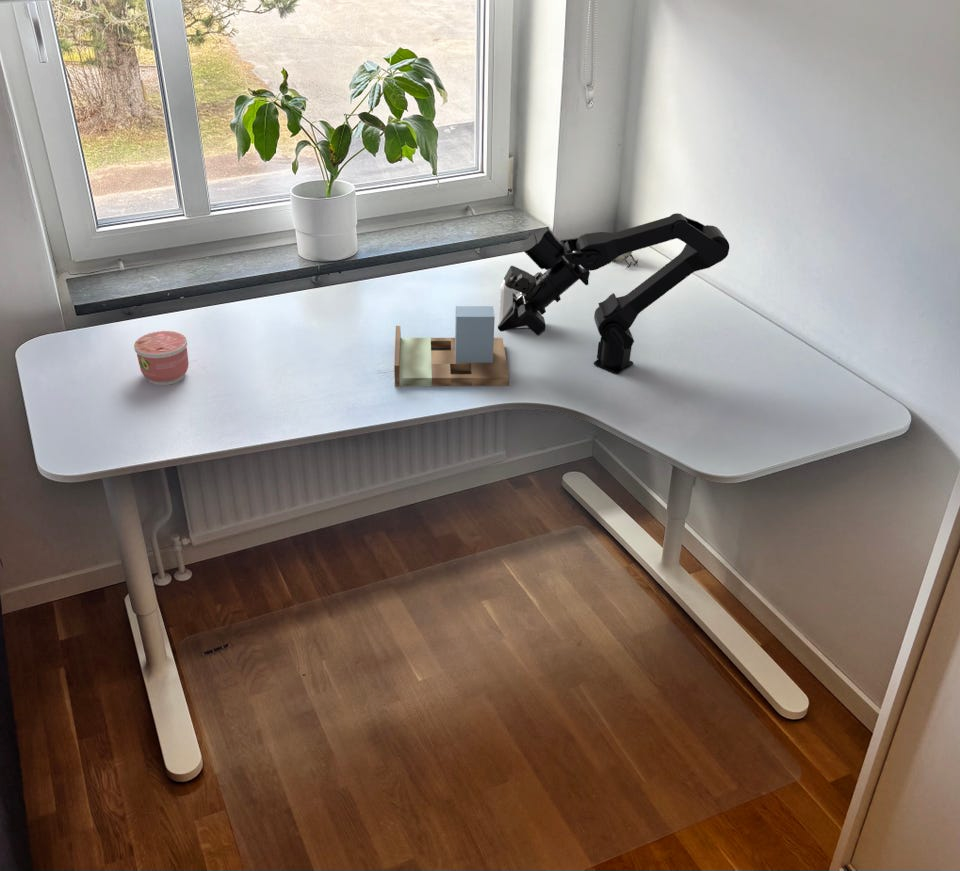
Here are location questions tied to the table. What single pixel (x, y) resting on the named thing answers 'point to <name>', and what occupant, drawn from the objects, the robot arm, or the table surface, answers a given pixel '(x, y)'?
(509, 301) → the photo printer
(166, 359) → the container
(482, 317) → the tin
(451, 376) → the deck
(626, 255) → the decorative bird
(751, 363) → the table surface
